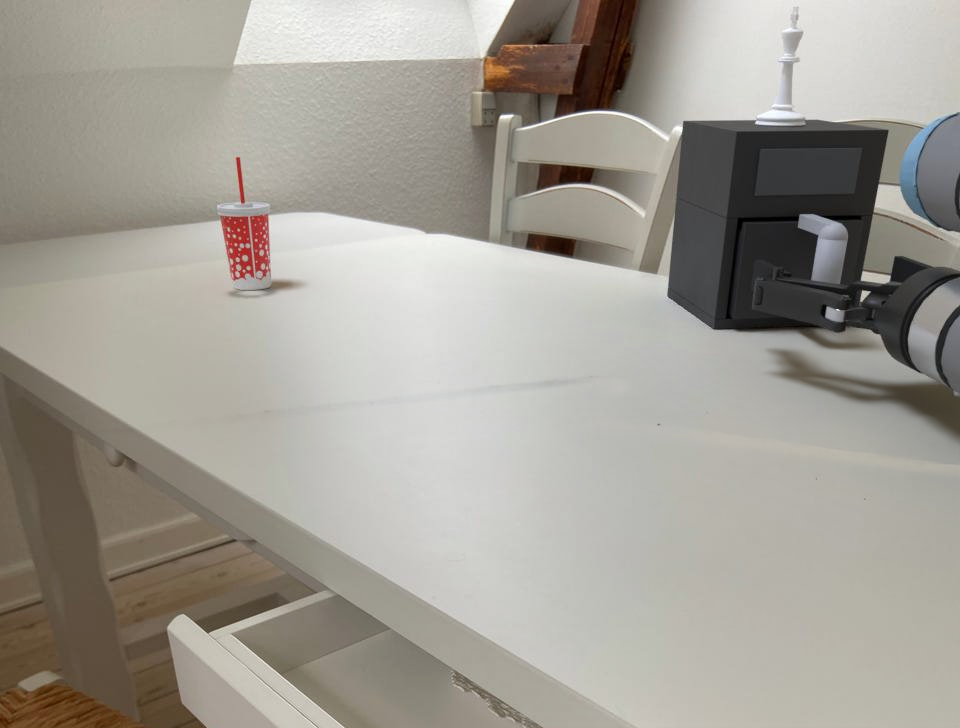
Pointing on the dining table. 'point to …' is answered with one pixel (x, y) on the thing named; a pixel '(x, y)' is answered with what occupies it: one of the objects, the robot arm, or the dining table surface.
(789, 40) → the chess piece
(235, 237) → the beverage cup
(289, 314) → the dining table surface
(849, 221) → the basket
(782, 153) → the fryer
